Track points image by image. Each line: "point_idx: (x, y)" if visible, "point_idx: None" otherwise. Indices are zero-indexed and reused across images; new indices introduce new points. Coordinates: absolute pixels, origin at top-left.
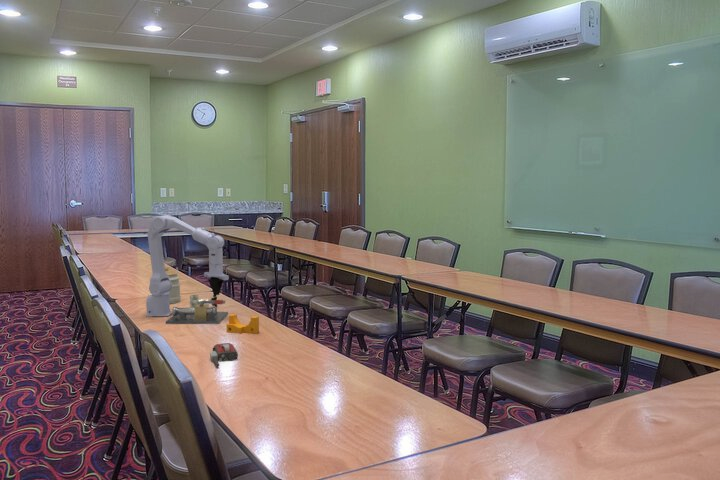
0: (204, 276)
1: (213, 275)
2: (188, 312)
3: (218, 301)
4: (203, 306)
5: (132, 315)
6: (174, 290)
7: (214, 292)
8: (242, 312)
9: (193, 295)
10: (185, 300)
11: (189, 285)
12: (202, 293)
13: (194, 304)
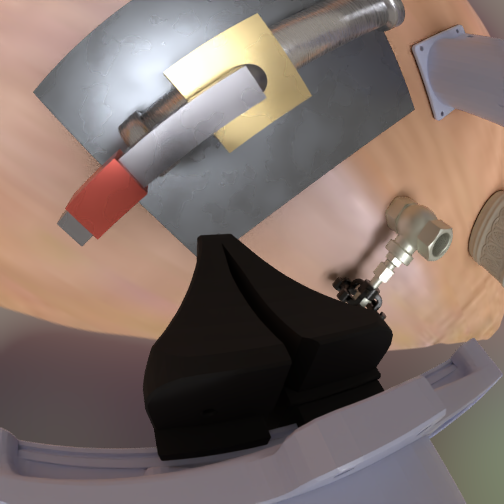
0: (473, 340)
1: (232, 499)
2: (292, 15)
3: (89, 180)
4: (192, 62)
5: (487, 34)
6: (501, 249)
7: (212, 245)
8: (174, 314)
9: (444, 248)
10: (459, 266)
11: (474, 328)
12: (444, 325)
13: (408, 213)
